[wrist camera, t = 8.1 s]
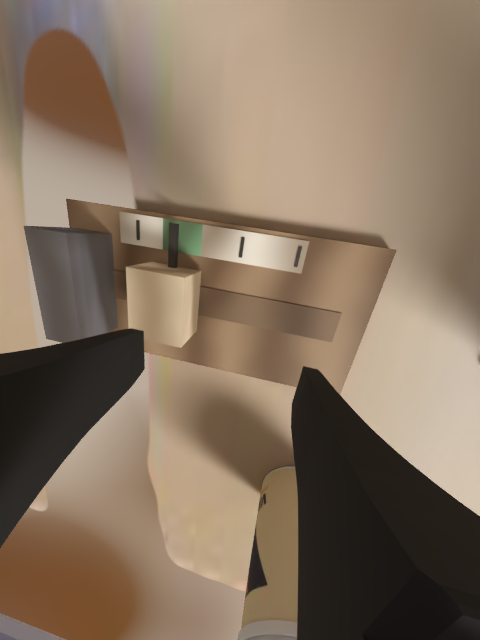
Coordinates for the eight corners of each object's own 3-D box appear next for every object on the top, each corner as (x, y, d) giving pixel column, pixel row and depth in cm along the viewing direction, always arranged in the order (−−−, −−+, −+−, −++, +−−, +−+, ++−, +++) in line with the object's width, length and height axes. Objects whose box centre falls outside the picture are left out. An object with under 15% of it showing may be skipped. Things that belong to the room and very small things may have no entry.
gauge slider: (204, 227, 16) (187, 226, 13) (196, 330, 19) (181, 347, 16) (151, 219, 16) (123, 215, 13) (152, 321, 19) (128, 336, 16)
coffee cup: (248, 459, 25) (220, 640, 14) (338, 460, 23) (391, 677, 11) (262, 514, 28) (248, 701, 17) (343, 520, 25) (390, 740, 14)
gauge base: (389, 249, 15) (436, 254, 11) (336, 389, 20) (352, 436, 15) (77, 200, 18) (6, 188, 13) (92, 333, 22) (43, 359, 18)
